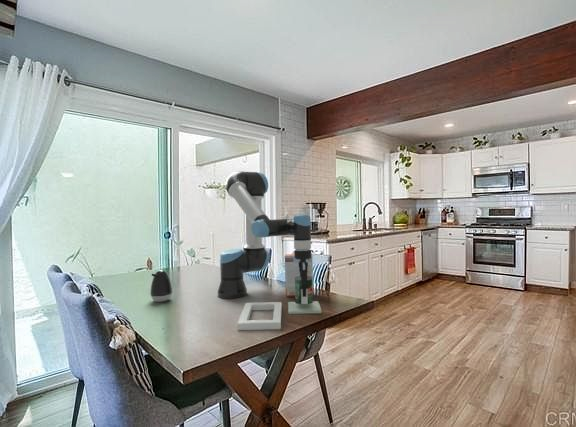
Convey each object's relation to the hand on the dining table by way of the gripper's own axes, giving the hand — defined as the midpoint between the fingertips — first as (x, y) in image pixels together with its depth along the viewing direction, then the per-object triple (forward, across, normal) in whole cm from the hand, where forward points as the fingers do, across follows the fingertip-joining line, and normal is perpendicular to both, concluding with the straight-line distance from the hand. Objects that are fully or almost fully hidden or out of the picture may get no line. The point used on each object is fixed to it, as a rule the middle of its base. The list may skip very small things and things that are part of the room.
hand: (303, 300), depth 143 cm
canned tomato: (+1, 0, 0) cm, 1 cm away
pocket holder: (+3, -11, +18) cm, 21 cm away
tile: (+3, 0, 0) cm, 3 cm away
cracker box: (+4, +22, +1) cm, 22 cm away
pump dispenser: (+4, +18, +70) cm, 72 cm away
